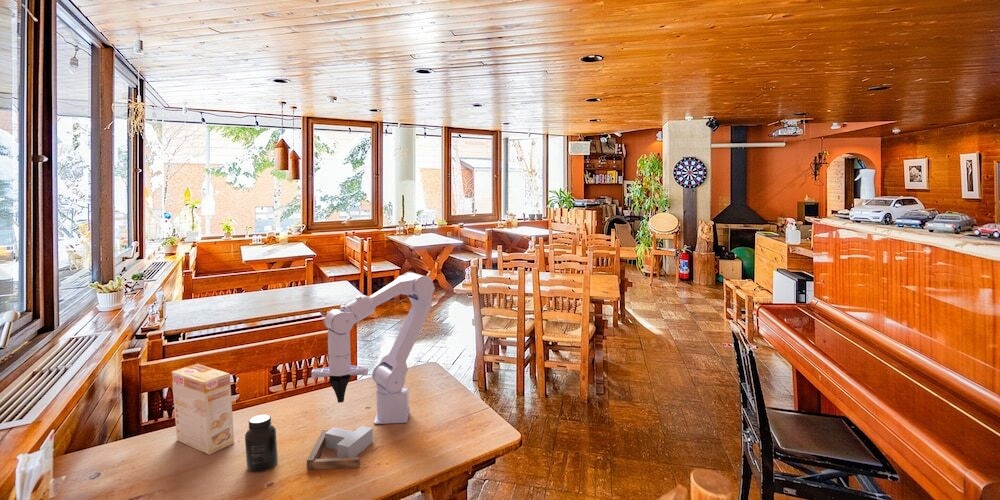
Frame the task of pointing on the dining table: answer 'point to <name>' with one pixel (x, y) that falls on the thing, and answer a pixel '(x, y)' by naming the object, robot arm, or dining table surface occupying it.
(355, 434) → the tee block
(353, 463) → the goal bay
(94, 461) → the dining table surface
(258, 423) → the supplement bottle
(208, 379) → the coffeecake box
